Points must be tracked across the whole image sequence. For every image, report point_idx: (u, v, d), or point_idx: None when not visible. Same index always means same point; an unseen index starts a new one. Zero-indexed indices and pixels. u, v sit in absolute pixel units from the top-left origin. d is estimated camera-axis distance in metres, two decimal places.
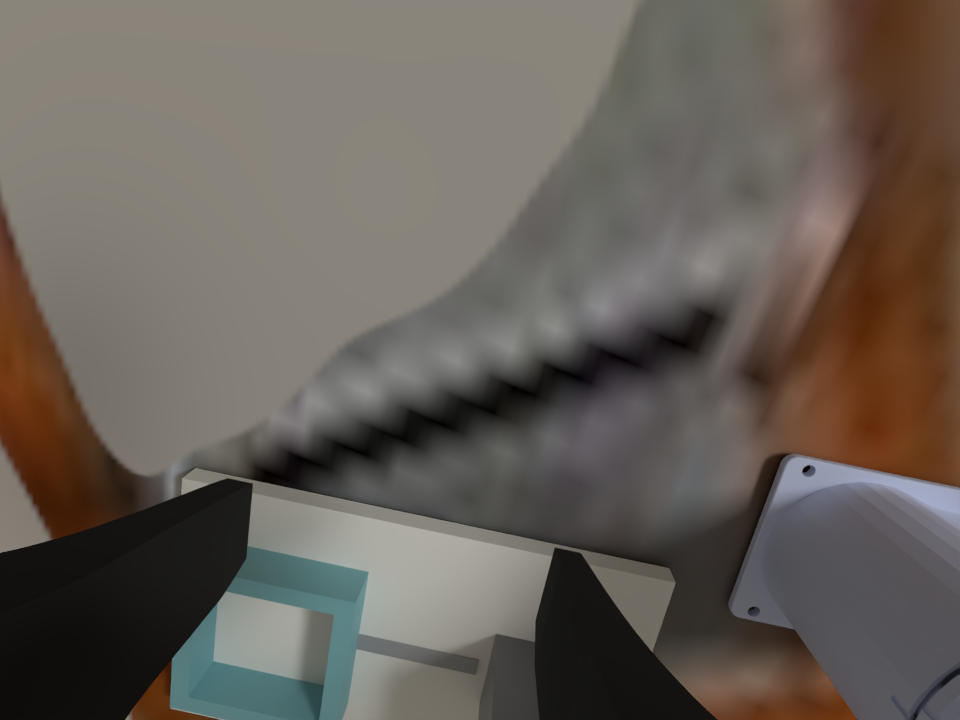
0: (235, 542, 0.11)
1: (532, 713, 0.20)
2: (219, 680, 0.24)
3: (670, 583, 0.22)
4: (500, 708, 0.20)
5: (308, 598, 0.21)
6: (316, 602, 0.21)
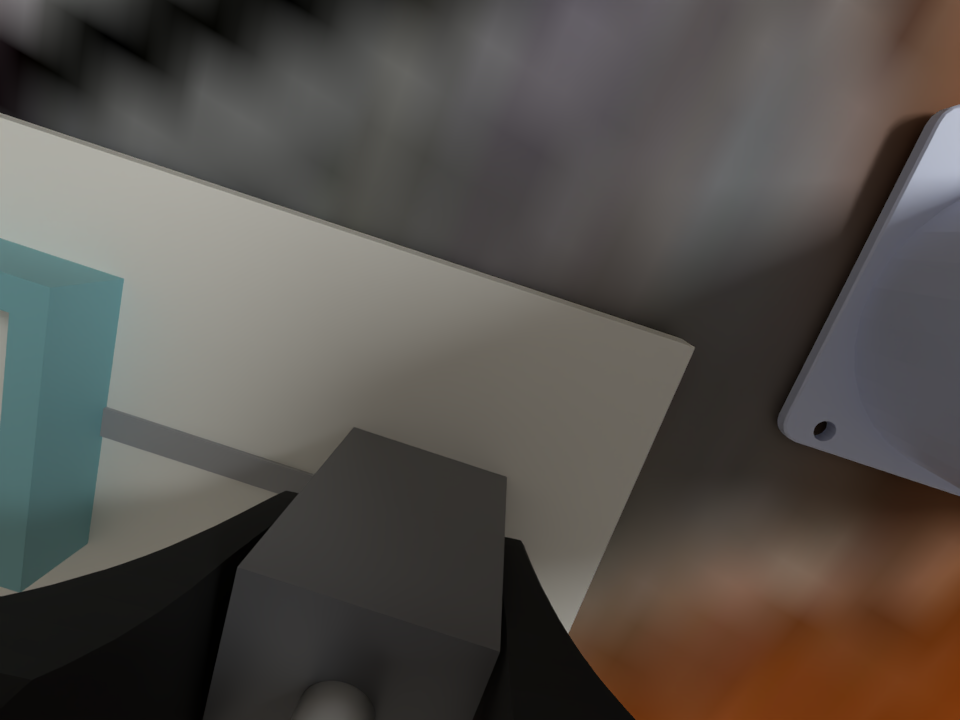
0: None
1: (374, 529, 0.09)
2: None
3: (685, 347, 0.12)
4: (306, 509, 0.09)
5: None
6: None
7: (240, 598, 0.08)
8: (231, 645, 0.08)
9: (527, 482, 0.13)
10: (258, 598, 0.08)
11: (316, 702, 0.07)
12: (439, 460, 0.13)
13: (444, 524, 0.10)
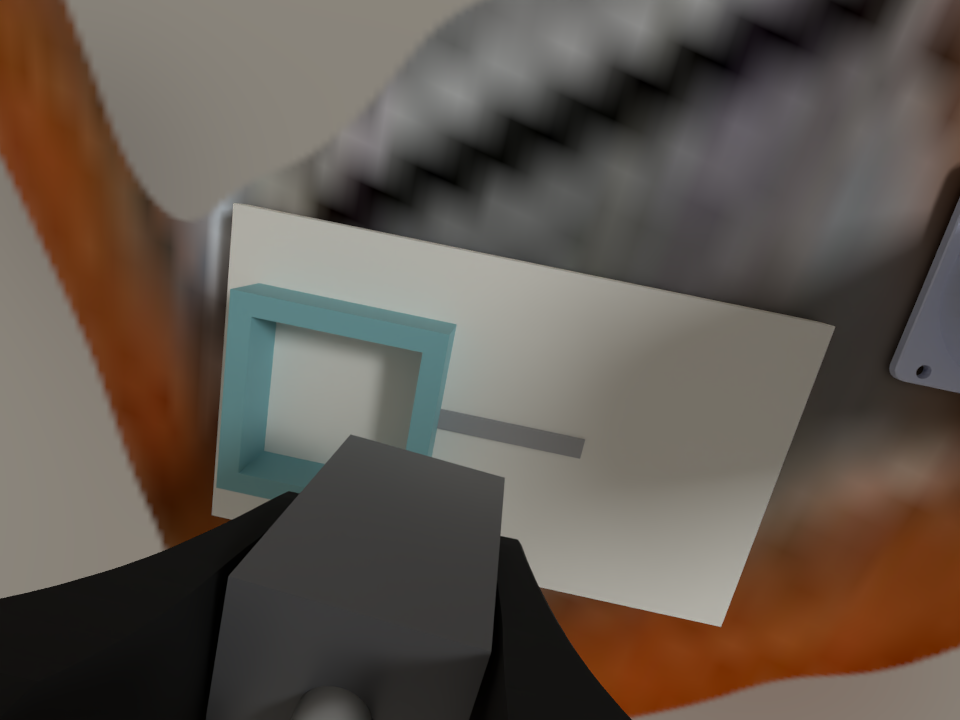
0: None
1: (367, 534, 0.09)
2: (273, 464, 0.20)
3: (828, 327, 0.18)
4: (300, 517, 0.09)
5: (391, 330, 0.17)
6: (401, 336, 0.17)
7: (232, 607, 0.08)
8: (227, 654, 0.08)
9: (726, 427, 0.19)
10: (250, 607, 0.08)
11: (310, 707, 0.08)
12: (436, 464, 0.13)
13: (439, 526, 0.10)
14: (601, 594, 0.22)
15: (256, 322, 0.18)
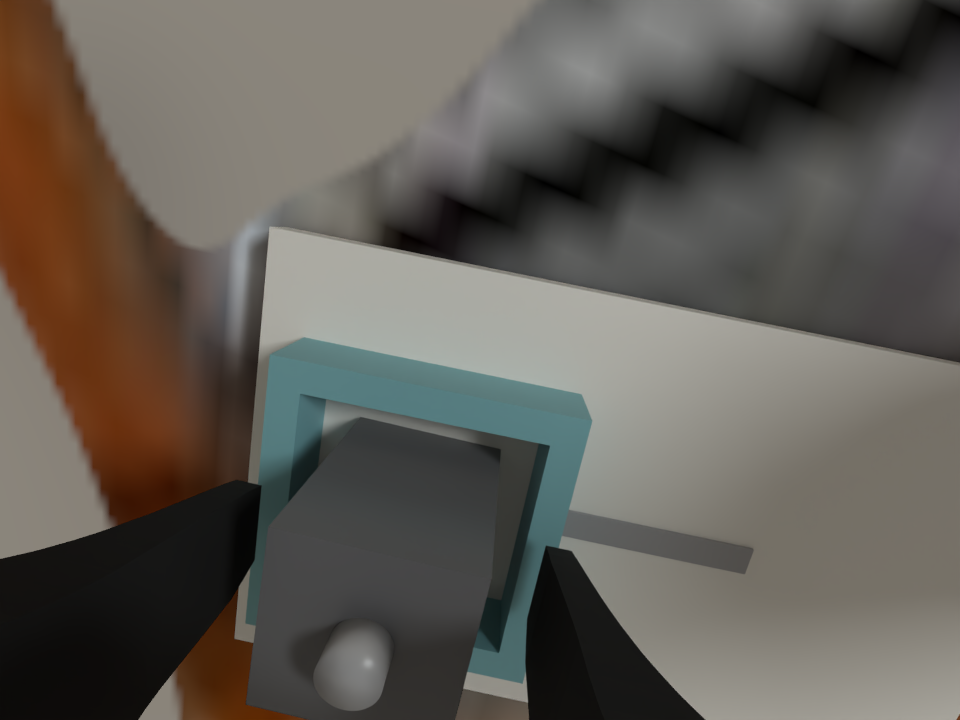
0: (244, 544, 0.11)
1: (381, 494, 0.11)
2: None
3: None
4: (322, 482, 0.11)
5: (506, 414, 0.12)
6: (520, 422, 0.12)
7: (272, 553, 0.09)
8: (269, 594, 0.09)
9: (955, 535, 0.14)
10: (287, 552, 0.09)
11: (342, 634, 0.09)
12: (438, 439, 0.14)
13: (443, 488, 0.12)
14: None
15: (305, 399, 0.13)
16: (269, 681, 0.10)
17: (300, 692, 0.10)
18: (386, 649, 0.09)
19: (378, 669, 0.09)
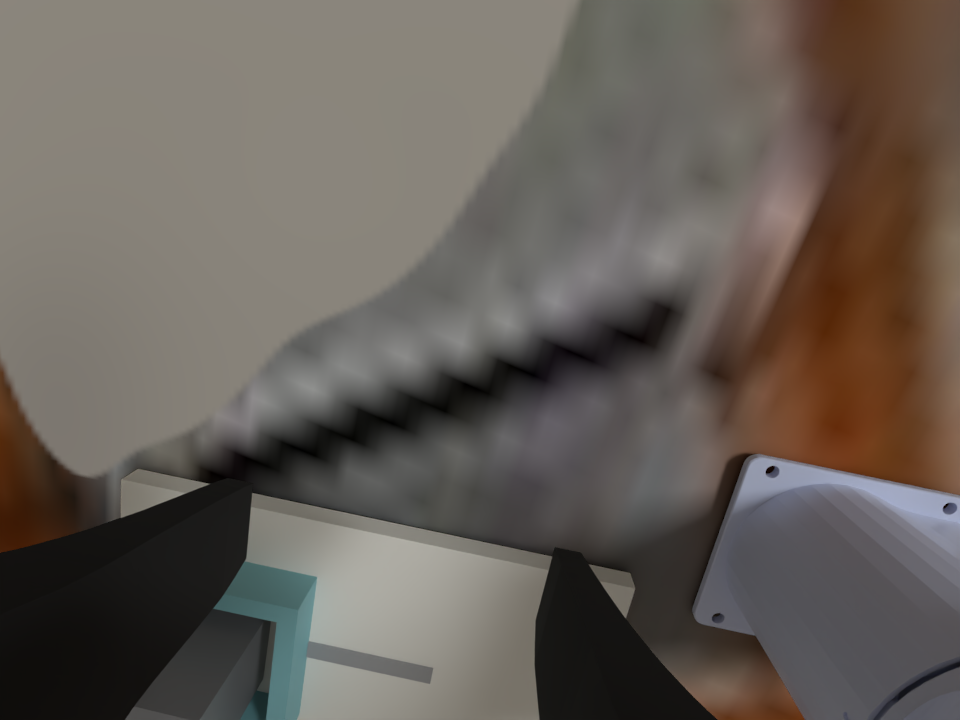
0: (235, 542, 0.11)
1: None
2: None
3: (629, 589, 0.21)
4: None
5: (249, 605, 0.20)
6: (258, 609, 0.20)
7: None
8: None
9: None
10: None
11: None
12: None
13: (209, 651, 0.20)
14: None
15: None
16: None
17: None
18: None
19: None
